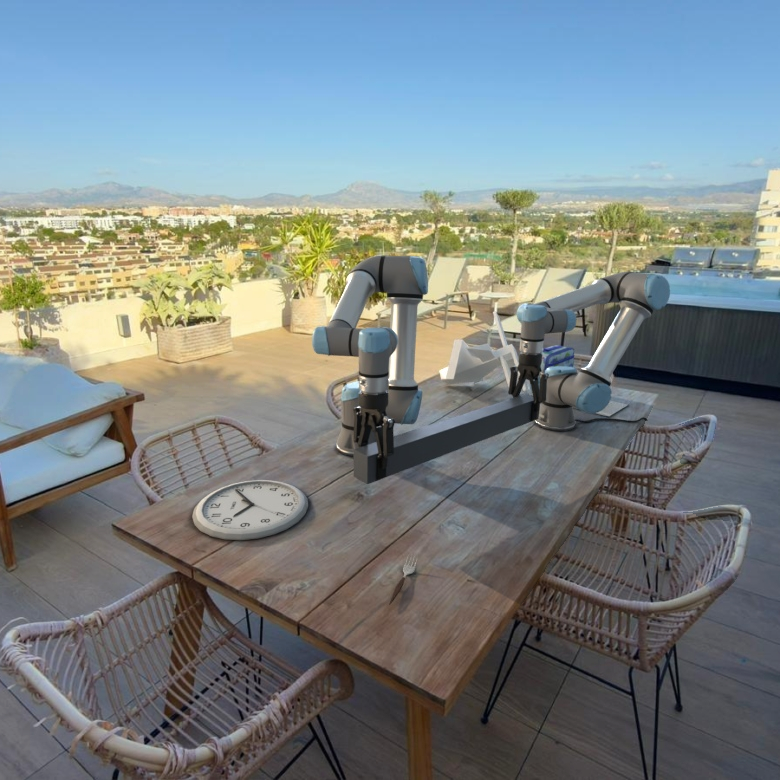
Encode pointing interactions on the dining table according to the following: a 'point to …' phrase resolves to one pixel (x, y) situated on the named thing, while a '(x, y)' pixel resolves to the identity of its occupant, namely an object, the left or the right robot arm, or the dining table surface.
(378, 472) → the left robot arm
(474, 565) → the dining table surface
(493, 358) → the white plastic object
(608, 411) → the invitation card
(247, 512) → the wall clock
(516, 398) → the bar
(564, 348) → the lunch box
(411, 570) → the fork
